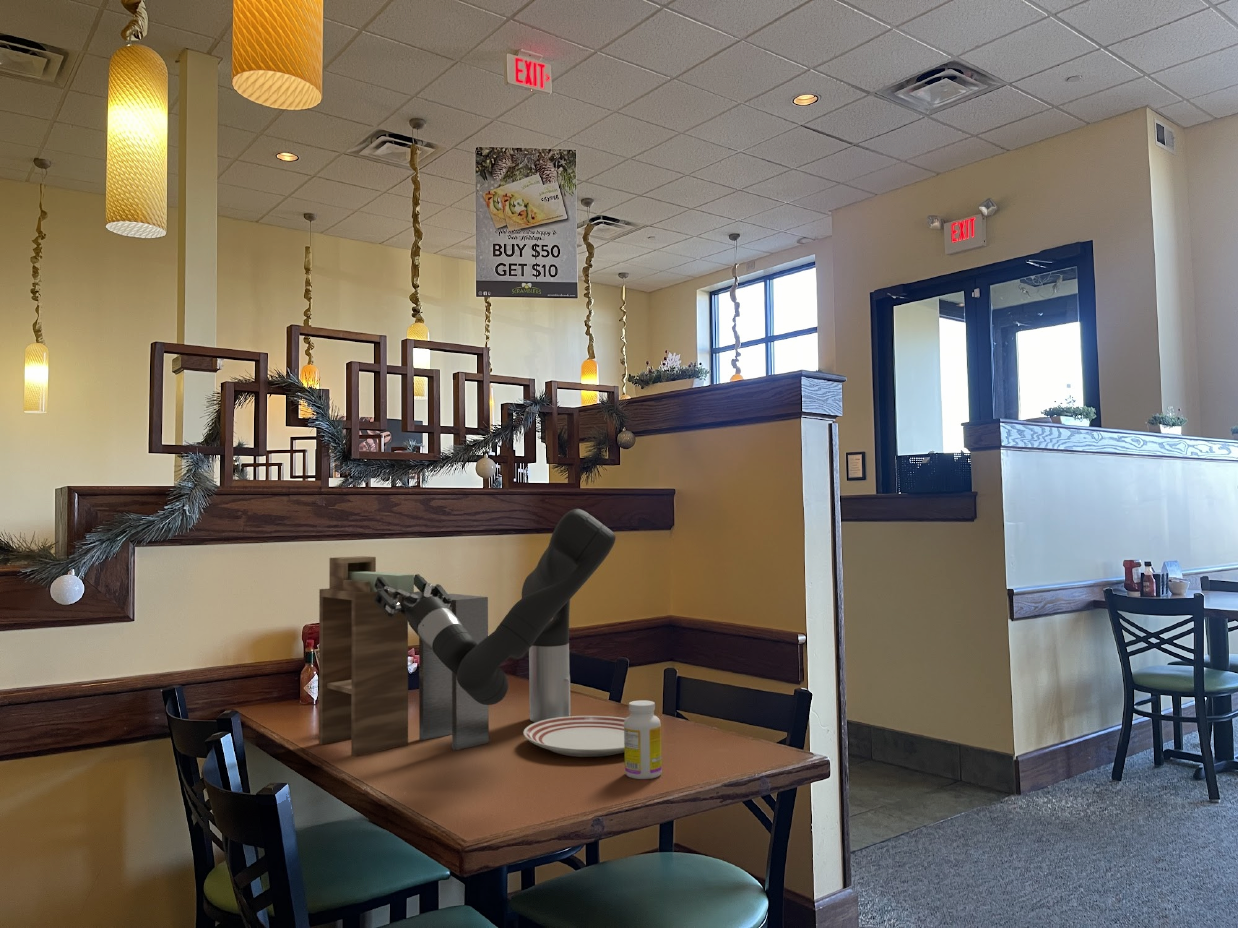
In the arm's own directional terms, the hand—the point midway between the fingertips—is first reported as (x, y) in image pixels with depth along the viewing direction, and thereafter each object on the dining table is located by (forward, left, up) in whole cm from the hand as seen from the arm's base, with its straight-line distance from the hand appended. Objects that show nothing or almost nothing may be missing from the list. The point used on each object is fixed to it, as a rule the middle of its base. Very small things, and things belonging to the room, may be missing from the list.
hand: (396, 579), depth 180 cm
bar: (+5, -5, -3) cm, 8 cm away
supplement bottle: (-48, +16, -35) cm, 62 cm away
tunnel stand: (+9, -9, -35) cm, 37 cm away
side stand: (-9, -10, -35) cm, 37 cm away
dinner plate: (-38, -6, -35) cm, 52 cm away
